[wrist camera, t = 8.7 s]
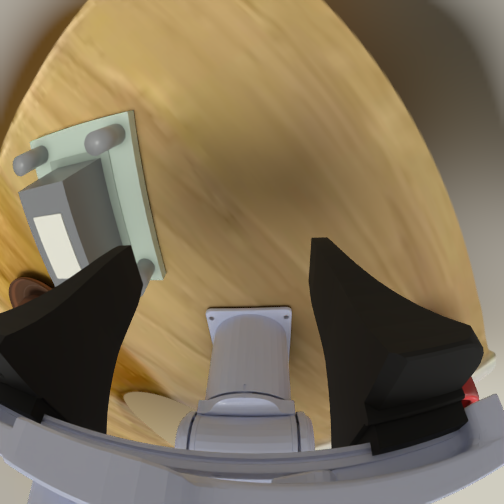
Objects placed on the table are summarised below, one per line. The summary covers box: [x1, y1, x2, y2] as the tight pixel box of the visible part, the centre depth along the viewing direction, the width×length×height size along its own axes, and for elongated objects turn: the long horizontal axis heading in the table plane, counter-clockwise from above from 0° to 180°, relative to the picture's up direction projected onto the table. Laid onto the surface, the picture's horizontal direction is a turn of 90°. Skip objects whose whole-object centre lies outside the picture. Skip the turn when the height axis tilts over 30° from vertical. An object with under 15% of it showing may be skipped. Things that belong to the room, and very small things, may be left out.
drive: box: [18, 158, 123, 287], centre depth 18 cm, size 8×4×5 cm, turn 3°
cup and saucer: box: [9, 277, 52, 308], centre depth 26 cm, size 12×12×6 cm
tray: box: [13, 110, 166, 297], centre depth 19 cm, size 14×10×4 cm
